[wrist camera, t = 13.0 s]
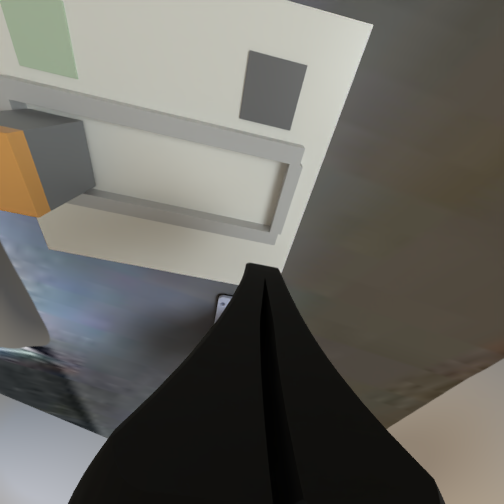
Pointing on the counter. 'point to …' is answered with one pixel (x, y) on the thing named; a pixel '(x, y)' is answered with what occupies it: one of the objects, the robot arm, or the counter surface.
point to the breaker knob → (41, 161)
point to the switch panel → (184, 121)
